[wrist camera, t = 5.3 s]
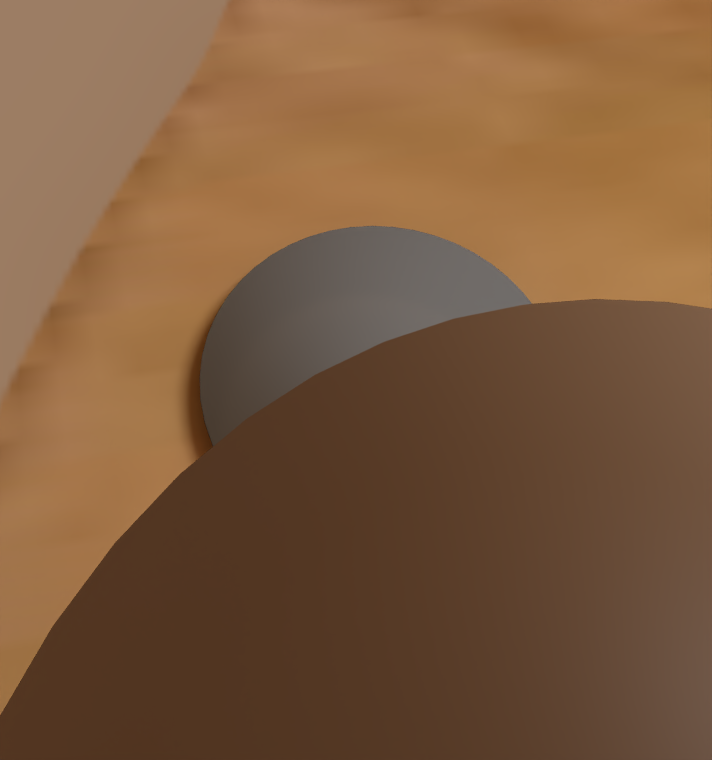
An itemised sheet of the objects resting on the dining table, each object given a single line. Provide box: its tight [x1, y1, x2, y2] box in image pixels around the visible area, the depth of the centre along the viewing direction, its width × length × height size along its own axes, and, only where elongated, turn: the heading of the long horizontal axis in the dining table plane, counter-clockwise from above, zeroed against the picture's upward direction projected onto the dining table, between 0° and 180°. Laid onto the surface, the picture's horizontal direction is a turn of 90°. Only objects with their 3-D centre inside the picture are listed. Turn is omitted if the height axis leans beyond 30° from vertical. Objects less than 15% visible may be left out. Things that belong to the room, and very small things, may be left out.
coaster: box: [200, 226, 532, 446], centre depth 21 cm, size 11×11×1 cm
